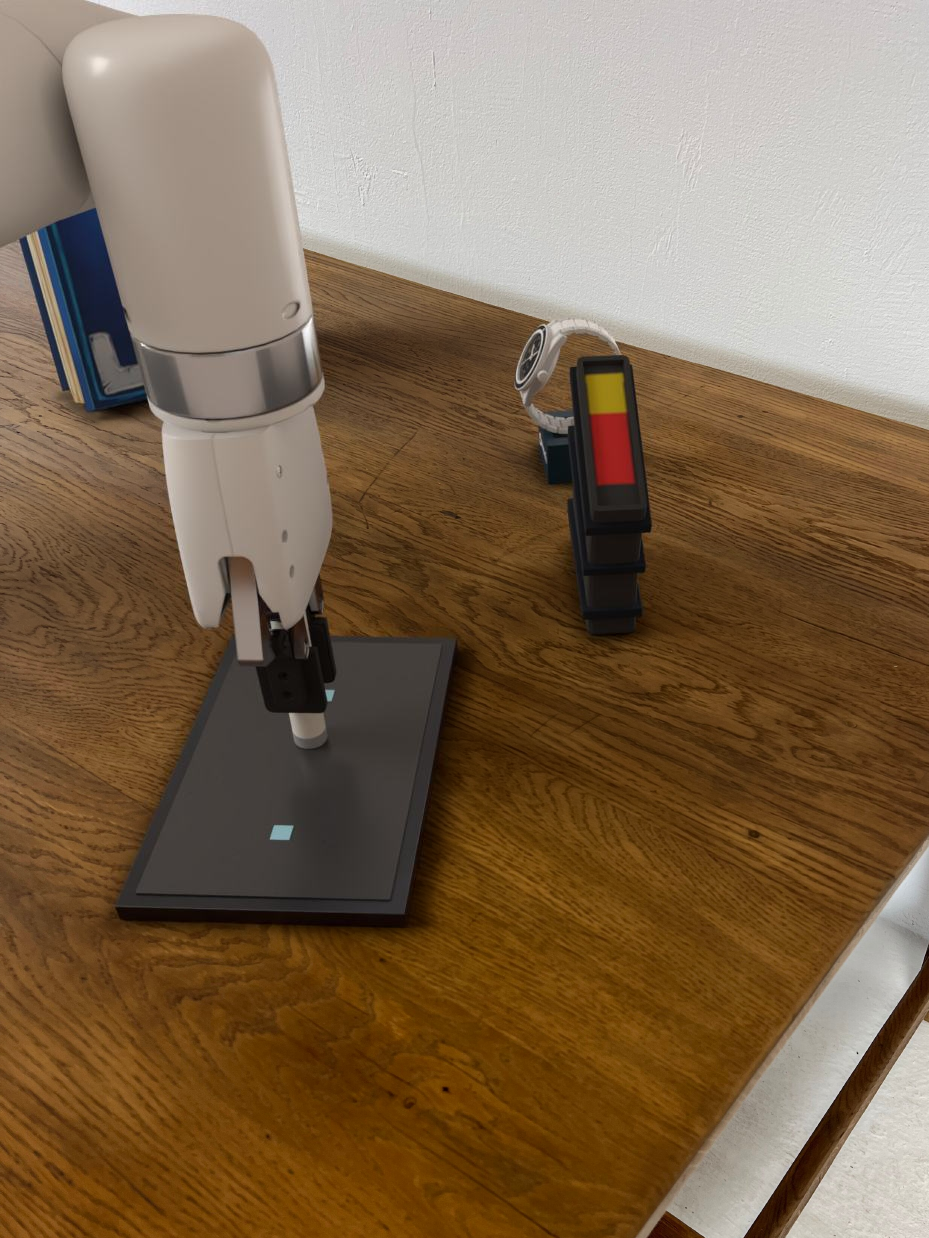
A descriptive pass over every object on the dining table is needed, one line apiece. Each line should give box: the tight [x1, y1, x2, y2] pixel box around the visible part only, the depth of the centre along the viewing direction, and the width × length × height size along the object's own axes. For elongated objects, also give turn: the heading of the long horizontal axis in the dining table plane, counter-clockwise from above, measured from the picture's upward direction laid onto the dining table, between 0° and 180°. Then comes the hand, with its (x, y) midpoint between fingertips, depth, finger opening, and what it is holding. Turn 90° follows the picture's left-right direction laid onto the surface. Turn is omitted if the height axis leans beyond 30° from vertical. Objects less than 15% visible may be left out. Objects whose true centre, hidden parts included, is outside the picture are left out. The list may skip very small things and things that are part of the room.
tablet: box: [114, 633, 459, 928], centre depth 63 cm, size 14×22×1 cm, turn 178°
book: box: [18, 208, 148, 414], centre depth 93 cm, size 22×7×25 cm, turn 130°
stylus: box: [270, 611, 328, 749], centre depth 61 cm, size 2×2×9 cm
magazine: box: [566, 354, 653, 636], centre depth 72 cm, size 4×13×15 cm, turn 5°
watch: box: [513, 316, 622, 485], centre depth 85 cm, size 6×8×11 cm
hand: (302, 692), depth 61 cm, fingers closed on stylus, 1 cm apart
